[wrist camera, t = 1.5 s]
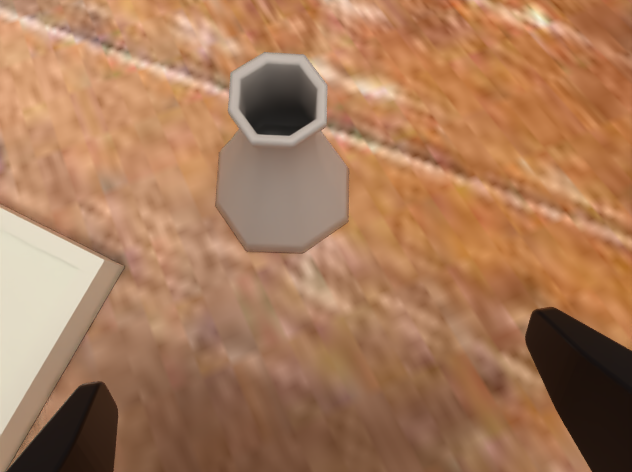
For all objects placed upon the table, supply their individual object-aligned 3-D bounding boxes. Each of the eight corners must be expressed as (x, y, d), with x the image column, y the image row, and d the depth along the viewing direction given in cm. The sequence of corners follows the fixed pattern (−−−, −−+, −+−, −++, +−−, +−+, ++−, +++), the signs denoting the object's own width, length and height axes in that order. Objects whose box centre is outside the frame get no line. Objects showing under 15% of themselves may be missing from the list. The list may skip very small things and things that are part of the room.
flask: (234, 273, 23) (192, 240, 13) (198, 143, 24) (134, 21, 14) (369, 234, 24) (425, 174, 14) (328, 109, 25) (353, -29, 15)
